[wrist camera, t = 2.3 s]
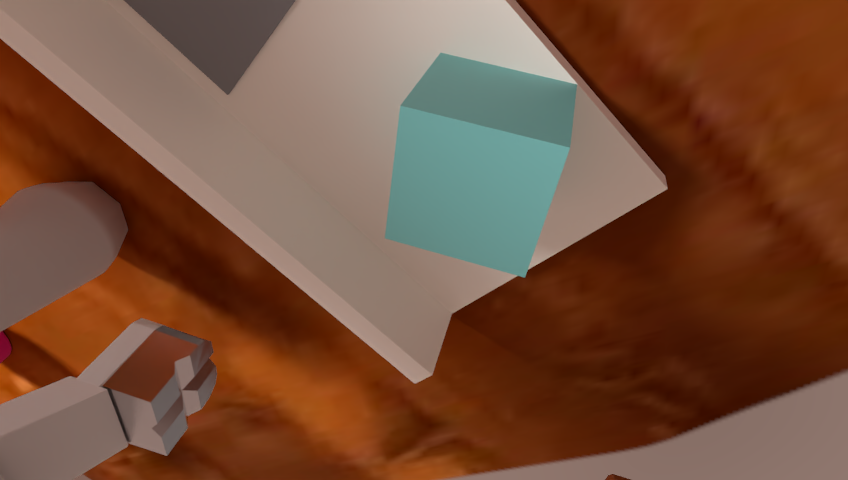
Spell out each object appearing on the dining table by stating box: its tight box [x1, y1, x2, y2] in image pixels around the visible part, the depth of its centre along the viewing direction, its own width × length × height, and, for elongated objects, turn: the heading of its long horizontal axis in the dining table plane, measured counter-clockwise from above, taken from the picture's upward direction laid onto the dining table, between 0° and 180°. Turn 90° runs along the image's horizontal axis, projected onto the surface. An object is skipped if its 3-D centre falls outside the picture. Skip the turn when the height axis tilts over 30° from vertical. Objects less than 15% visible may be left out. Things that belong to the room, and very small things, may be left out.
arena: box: [0, 0, 668, 384], centre depth 20 cm, size 24×13×5 cm, turn 47°
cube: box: [385, 53, 577, 278], centre depth 19 cm, size 5×5×5 cm
